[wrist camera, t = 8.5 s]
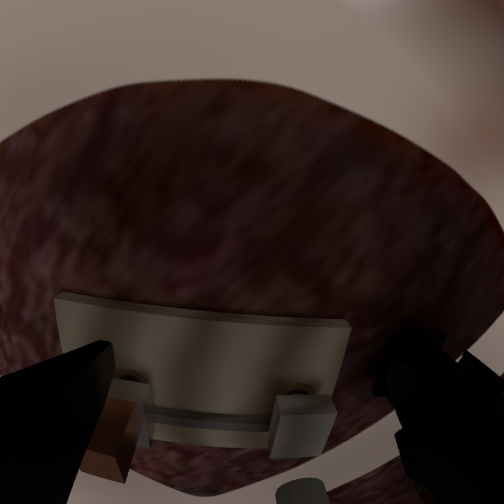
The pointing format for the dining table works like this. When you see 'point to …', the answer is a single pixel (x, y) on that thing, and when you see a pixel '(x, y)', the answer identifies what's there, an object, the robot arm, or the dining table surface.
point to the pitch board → (220, 370)
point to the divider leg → (120, 430)
